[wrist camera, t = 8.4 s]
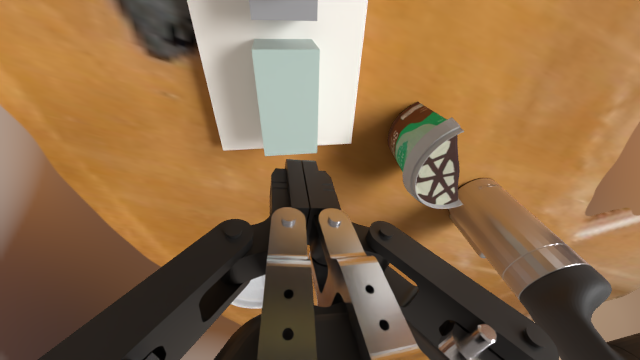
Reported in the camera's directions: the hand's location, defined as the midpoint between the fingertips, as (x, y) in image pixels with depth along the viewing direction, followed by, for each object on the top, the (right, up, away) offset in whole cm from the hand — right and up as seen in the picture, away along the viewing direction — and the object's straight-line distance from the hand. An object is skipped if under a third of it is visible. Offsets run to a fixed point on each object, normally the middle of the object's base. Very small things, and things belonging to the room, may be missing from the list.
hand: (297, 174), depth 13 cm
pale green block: (-2, +9, +14) cm, 17 cm away
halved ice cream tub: (+13, +6, +23) cm, 27 cm away
